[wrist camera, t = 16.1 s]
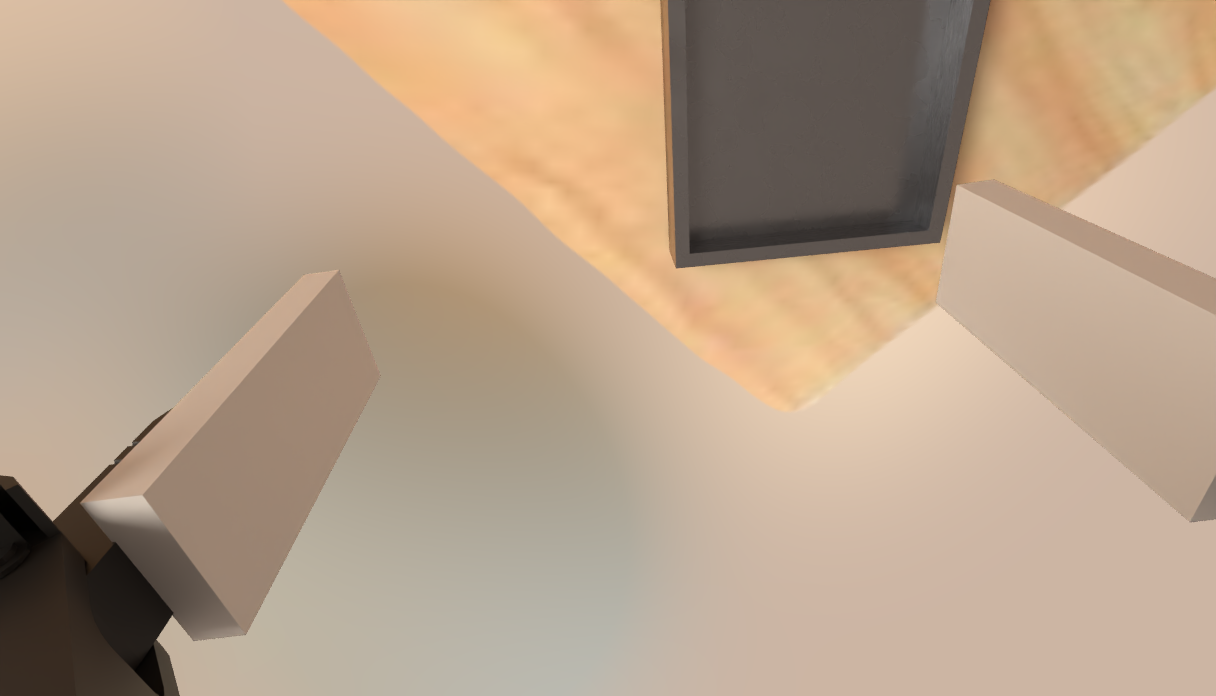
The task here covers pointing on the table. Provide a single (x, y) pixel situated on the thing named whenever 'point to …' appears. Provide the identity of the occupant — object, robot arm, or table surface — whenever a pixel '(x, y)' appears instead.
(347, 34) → the table surface
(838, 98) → the grey square tray
